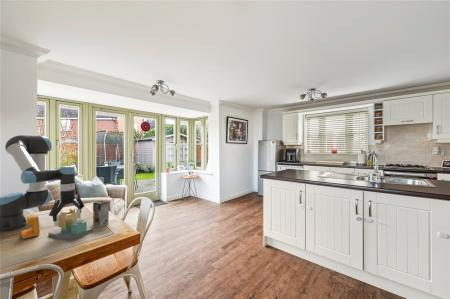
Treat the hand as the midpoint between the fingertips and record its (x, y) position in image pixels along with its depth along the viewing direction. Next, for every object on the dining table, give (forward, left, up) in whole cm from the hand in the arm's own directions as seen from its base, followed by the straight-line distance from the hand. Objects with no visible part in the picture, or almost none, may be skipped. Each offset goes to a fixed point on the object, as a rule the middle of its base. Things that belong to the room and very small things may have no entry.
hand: (68, 222), depth 129 cm
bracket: (-19, -10, -7) cm, 23 cm away
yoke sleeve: (0, 0, -2) cm, 2 cm away
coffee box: (+7, +18, -7) cm, 21 cm away
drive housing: (+3, 0, -7) cm, 8 cm away
